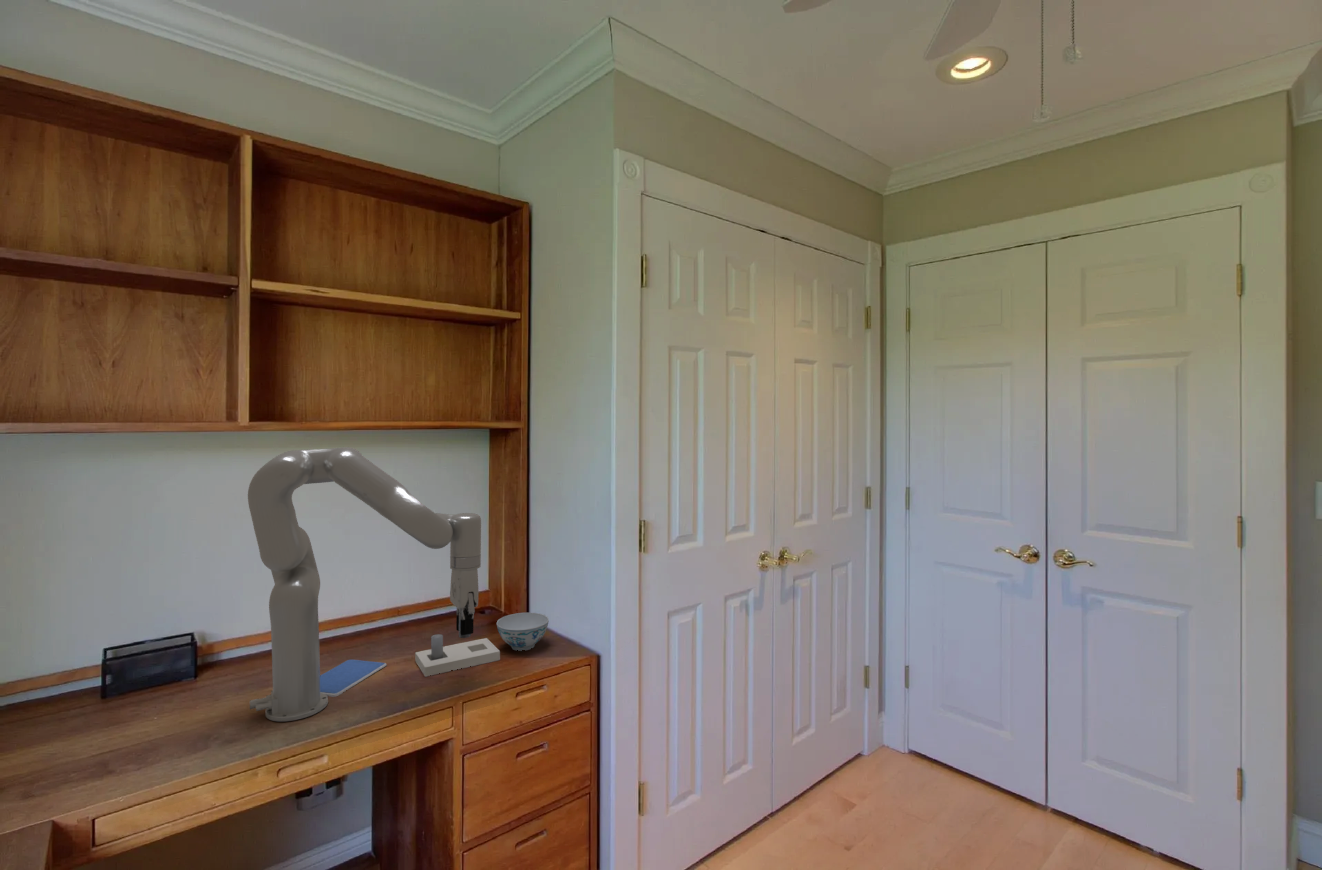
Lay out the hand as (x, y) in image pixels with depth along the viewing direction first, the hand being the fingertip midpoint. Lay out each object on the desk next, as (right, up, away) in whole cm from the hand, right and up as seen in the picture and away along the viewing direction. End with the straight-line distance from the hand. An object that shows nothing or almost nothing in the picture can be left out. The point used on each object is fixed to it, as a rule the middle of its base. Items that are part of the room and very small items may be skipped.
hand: (464, 631), depth 161 cm
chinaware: (+10, -12, +23) cm, 27 cm away
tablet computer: (-32, -13, +1) cm, 35 cm away
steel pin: (0, -1, 0) cm, 1 cm away
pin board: (-6, -12, +12) cm, 18 cm away
